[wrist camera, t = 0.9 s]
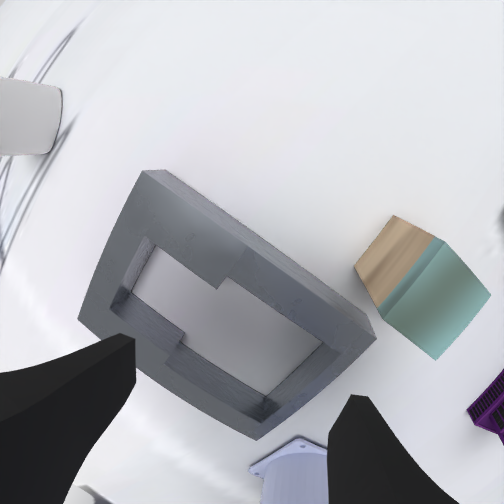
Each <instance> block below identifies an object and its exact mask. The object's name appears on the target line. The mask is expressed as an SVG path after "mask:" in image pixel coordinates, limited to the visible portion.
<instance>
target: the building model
mask: <svg viewBox="0 0 504 504" xmlns="http://www.w3.org/2000/svg"><path fill="white" fill-rule="evenodd" d="M467 411H468V413H469V415H470V417H471V419H472V421H473V423H474V425H476V426H478V427H481V428H483V429H486V430H488V431H491V432H493V433H495V434H498V435H499V437H500V439H501V441H502V443H503V445H504V369H503V371H502V372H501V373H500V374H499V375H498V376H497V378H496V379H495V380H494V381H493V382H492V383H491V385H490V386H489V387H488V388H487V389H486V390H485V391H484V392H483V393H482V394H481V395H480V397H479V398H478V399H477V400H476V401H475V402H474V403H473V404H472V405H471V406H470V407H469V408H468V409H467Z"/></svg>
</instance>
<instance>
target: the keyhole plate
mask: <svg viewBox="0 0 504 504" xmlns="http://www.w3.org/2000/svg"><path fill="white" fill-rule="evenodd" d="M155 245H157V246H159V247H160V248H161V249H162V250H164V251H165V252H166V253H168V254H169V255H170V256H172V257H173V258H174V259H176V260H177V261H178V262H180V263H181V264H183V265H184V266H185V267H187V268H188V269H189V270H191V271H192V272H193V273H195V274H196V275H198V276H199V277H200V278H202V279H203V280H204V281H206V282H207V283H209V284H210V285H211V286H213V287H214V288H216V289H218V287H219V286H220V284H221V283H222V282H223V280H224V279H225V277H226V276H228V277H229V278H231V279H232V280H233V281H235V282H236V283H238V284H239V285H241V286H242V287H243V288H245V289H246V290H248V291H249V292H251V293H252V294H253V295H255V296H256V297H258V298H259V299H261V300H262V301H263V302H265V303H266V304H268V305H269V306H271V307H272V308H274V309H275V310H276V311H278V312H279V313H281V314H282V315H284V316H285V317H287V318H288V319H290V320H291V321H293V322H294V323H296V324H297V325H298V326H300V327H301V328H303V329H304V330H306V331H307V332H309V333H310V334H312V335H313V336H315V337H316V338H318V339H319V340H321V341H322V342H323V343H322V344H321V345H320V346H319V347H318V348H317V349H316V350H315V351H314V352H313V353H312V354H311V355H310V356H309V357H308V358H307V359H306V360H305V361H304V362H303V363H302V364H301V365H300V366H299V367H298V368H297V369H296V370H295V371H294V372H293V373H292V374H291V375H289V376H288V377H287V378H286V379H285V380H284V381H283V382H282V383H281V384H280V385H279V386H277V387H276V388H275V389H274V390H273V391H272V392H271V393H270V394H269V395H267V396H264V395H262V394H261V393H259V392H257V391H255V390H254V389H252V388H250V387H249V386H247V385H245V384H244V383H242V382H240V381H239V380H237V379H235V378H234V377H232V376H230V375H229V374H227V373H226V372H224V371H223V370H221V369H219V368H218V367H216V366H215V365H213V364H212V363H210V362H209V361H207V360H206V359H204V358H203V357H201V356H200V355H198V354H197V353H195V352H194V351H192V350H191V349H189V348H188V347H186V346H185V345H184V344H182V343H181V342H179V341H180V339H181V338H182V337H183V335H184V334H185V333H184V332H183V331H182V330H180V329H179V328H177V327H176V326H175V325H173V324H172V323H170V322H169V321H168V320H166V319H165V318H164V317H162V316H161V315H160V314H158V313H157V312H156V311H154V310H153V309H152V308H150V307H149V306H148V305H147V304H145V303H144V302H143V301H141V300H140V299H139V298H138V297H136V296H135V295H134V294H133V293H131V290H132V288H133V286H134V284H135V282H136V280H137V278H138V277H139V275H140V273H141V271H142V269H143V267H144V265H145V263H146V261H147V260H148V258H149V256H150V254H151V252H152V250H153V249H154V247H155ZM78 320H79V321H80V322H81V323H82V324H83V325H85V326H86V327H87V328H88V329H89V330H90V331H91V332H93V333H94V334H95V335H96V336H97V337H98V338H100V339H101V340H104V339H106V338H108V337H111V336H113V335H116V334H118V333H122V334H124V335H127V336H130V337H132V338H135V350H136V368H138V369H139V370H140V371H142V372H143V373H144V374H146V375H147V376H149V377H150V378H151V379H153V380H154V381H156V382H157V383H159V384H160V385H161V386H163V387H164V388H166V389H167V390H169V391H170V392H172V393H173V394H175V395H177V396H178V397H180V398H181V399H183V400H184V401H186V402H188V403H189V404H191V405H192V406H194V407H196V408H197V409H199V410H201V411H202V412H204V413H206V414H207V415H209V416H211V417H213V418H214V419H216V420H218V421H220V422H221V423H223V424H225V425H227V426H229V427H231V428H232V429H234V430H236V431H238V432H240V433H242V434H244V435H246V436H248V437H250V438H252V439H254V440H256V441H257V440H258V439H260V438H261V437H263V436H264V435H265V434H267V433H268V432H270V431H271V430H272V429H274V428H275V427H277V426H278V425H279V424H281V423H282V422H283V421H285V420H286V419H287V418H288V417H290V416H291V415H292V414H294V413H295V412H296V411H297V410H299V409H300V408H301V407H302V406H304V405H305V404H306V403H307V402H309V401H310V400H311V399H312V398H313V397H315V396H316V395H317V394H318V393H319V392H321V391H322V390H323V389H324V388H325V387H326V386H327V385H329V384H330V383H331V382H332V381H333V380H334V379H335V378H336V377H338V376H339V375H340V374H341V373H342V372H343V371H344V370H345V369H346V368H347V367H348V366H350V365H351V364H352V363H353V362H354V361H355V360H356V359H357V358H358V357H359V356H360V355H361V354H362V353H363V352H364V351H365V350H366V349H367V348H368V347H369V346H370V345H371V344H372V343H373V342H374V341H375V340H376V339H377V338H376V336H375V333H374V331H373V328H372V326H371V324H370V321H369V319H368V317H367V315H366V314H365V313H363V312H362V311H361V310H359V309H358V308H357V307H355V306H354V305H353V304H351V303H350V302H349V301H347V300H346V299H345V298H343V297H342V296H340V295H339V294H338V293H336V292H335V291H334V290H332V289H331V288H330V287H328V286H327V285H326V284H324V283H323V282H322V281H320V280H319V279H317V278H316V277H315V276H313V275H312V274H311V273H309V272H308V271H307V270H305V269H304V268H302V267H301V266H300V265H298V264H297V263H296V262H294V261H293V260H291V259H290V258H289V257H287V256H286V255H285V254H283V253H282V252H280V251H279V250H278V249H276V248H275V247H274V246H272V245H271V244H269V243H268V242H267V241H265V240H264V239H262V238H261V237H260V236H258V235H257V234H255V233H254V232H253V231H251V230H250V229H249V228H247V227H246V226H244V225H243V224H242V223H240V222H239V221H237V220H236V219H235V218H233V217H232V216H230V215H229V214H227V213H226V212H225V211H223V210H222V209H220V208H219V207H218V206H216V205H215V204H213V203H212V202H211V201H209V200H208V199H206V198H205V197H203V196H202V195H201V194H199V193H198V192H196V191H195V190H193V189H192V188H191V187H189V186H188V185H186V184H185V183H183V182H182V181H181V180H179V179H178V178H176V177H175V176H173V175H172V174H171V173H169V172H168V171H166V170H145V171H142V172H141V174H140V176H139V178H138V180H137V181H136V183H135V185H134V187H133V189H132V191H131V193H130V195H129V197H128V199H127V201H126V203H125V205H124V207H123V209H122V211H121V213H120V215H119V217H118V219H117V221H116V224H115V226H114V228H113V230H112V232H111V234H110V237H109V239H108V241H107V243H106V246H105V248H104V250H103V253H102V255H101V257H100V260H99V262H98V265H97V267H96V270H95V272H94V275H93V277H92V280H91V282H90V285H89V288H88V290H87V293H86V296H85V299H84V301H83V304H82V307H81V310H80V313H79V316H78Z"/></svg>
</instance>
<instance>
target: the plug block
mask: <svg viewBox="0 0 504 504" xmlns="http://www.w3.org/2000/svg"><path fill="white" fill-rule="evenodd" d="M354 267H355V269H356V271H357V273H358V274H359V276H360V278H361V280H362V282H363V283H364V285H365V287H366V289H367V291H368V293H369V294H370V296H371V298H372V300H373V302H374V304H375V306H376V308H377V309H378V311H379V313H380V315H381V317H382V319H383V320H384V321H386V322H387V323H388V324H389V325H391V326H392V327H393V328H395V329H396V330H397V331H399V332H400V333H401V334H402V335H404V336H405V337H406V338H408V339H409V340H410V341H411V342H413V343H414V344H415V345H416V346H418V347H419V348H420V349H422V350H423V351H424V352H425V353H427V354H428V355H429V356H430V357H432V358H433V359H434V360H435V361H436V360H437V359H438V358H439V357H440V356H441V355H442V354H443V352H444V351H445V350H446V349H447V348H448V347H449V346H450V345H451V344H452V343H453V342H454V341H455V339H456V338H457V337H458V336H459V335H460V334H461V333H462V331H463V330H464V329H465V328H466V327H467V326H468V324H469V323H470V322H471V321H472V320H473V318H474V317H475V316H476V315H477V313H478V312H479V311H480V310H481V308H482V307H483V306H484V304H485V303H486V302H487V300H488V299H489V298H490V296H491V294H490V293H489V292H488V290H487V289H486V288H485V287H484V285H483V284H482V283H481V282H480V281H479V279H478V278H477V277H476V276H475V275H474V273H473V272H472V271H471V270H470V269H469V268H468V266H467V265H466V264H465V263H464V262H463V261H462V260H461V258H460V257H459V256H458V255H457V254H456V253H455V252H454V251H453V250H452V249H451V247H450V246H449V245H448V244H447V243H446V242H444V241H443V240H441V239H439V238H437V237H435V236H433V235H432V234H430V233H428V232H426V231H424V230H422V229H420V228H418V227H416V226H414V225H412V224H410V223H408V222H406V221H404V220H402V219H400V218H398V217H396V216H394V215H393V216H392V218H391V219H390V220H389V222H388V223H387V224H386V226H385V227H384V228H383V229H382V231H381V232H380V233H379V235H378V236H377V237H376V239H375V240H374V241H373V242H372V244H371V245H370V246H369V248H368V249H367V250H366V251H365V253H364V254H363V255H362V256H361V258H360V259H359V260H358V261H357V263H356V264H355V265H354Z"/></svg>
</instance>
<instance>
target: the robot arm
mask: <svg viewBox="0 0 504 504" xmlns="http://www.w3.org/2000/svg"><path fill="white" fill-rule="evenodd" d="M135 384H136V350H135V338H132V337H130V336H127V335H124V334H122V333H118V334H116V335H113V336H111V337H108V338H106V339H104V340H101V341H99V342H97V343H95V344H92V345H90V346H88V347H85V348H83V349H80V350H78V351H75V352H73V353H71V354H68V355H65V356H63V357H60V358H57V359H54V360H51V361H48V362H45V363H42V364H39V365H36V366H32V367H28V368H24V369H20V370H15V371H10V372H2V373H0V504H63V503H64V501H65V498H66V496H67V494H68V491H69V489H70V487H71V485H72V483H73V481H74V479H75V477H76V475H77V473H78V471H79V469H80V467H81V466H82V464H83V462H84V460H85V458H86V456H87V455H88V453H89V452H90V450H91V449H92V447H93V446H94V444H95V443H96V442H97V440H98V439H99V438H100V436H101V435H102V434H103V432H104V431H105V430H106V428H107V427H108V426H109V424H110V423H111V422H112V420H113V419H114V418H115V416H116V415H117V414H118V412H119V411H120V410H121V408H122V407H123V405H124V404H125V402H126V400H127V399H128V397H129V395H130V393H131V391H132V389H133V388H134V386H135ZM248 472H249V473H250V474H253V475H255V476H258V477H260V478H263V479H264V483H263V489H262V494H261V500H260V504H459V503H458V502H457V501H455V500H454V499H453V498H452V497H450V496H449V495H448V494H447V493H446V492H444V491H443V490H442V489H441V488H440V487H439V486H438V485H437V484H436V483H435V482H434V481H433V480H432V479H431V478H430V477H429V476H428V475H427V474H426V473H425V472H424V471H423V470H422V469H421V468H420V467H419V465H418V464H417V463H416V462H415V461H414V459H413V458H412V457H411V456H410V454H409V453H408V452H407V451H406V449H405V448H404V447H403V445H402V444H401V443H400V441H399V440H398V439H397V437H396V436H395V434H394V433H393V432H392V430H391V429H390V427H389V426H388V424H387V423H386V422H385V420H384V419H383V417H382V416H381V414H380V413H379V411H378V410H377V408H376V407H375V406H374V404H373V403H372V401H371V400H370V399H369V397H367V396H359V395H352V394H351V396H350V398H349V399H348V401H347V403H346V405H345V406H344V408H343V410H342V412H341V413H340V415H339V417H338V418H337V420H336V422H335V423H334V425H333V427H332V428H331V430H330V432H329V435H328V447H327V450H326V449H324V448H321V447H319V446H317V445H314V444H312V443H310V442H308V441H305V440H303V439H300V438H298V439H295V440H293V441H292V442H290V443H289V444H287V445H286V446H284V447H283V448H281V449H280V450H278V451H276V452H275V453H273V454H272V455H270V456H268V457H267V458H265V459H263V460H262V461H260V462H258V463H257V464H255V465H253V466H251V467H250V468H248Z"/></svg>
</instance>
